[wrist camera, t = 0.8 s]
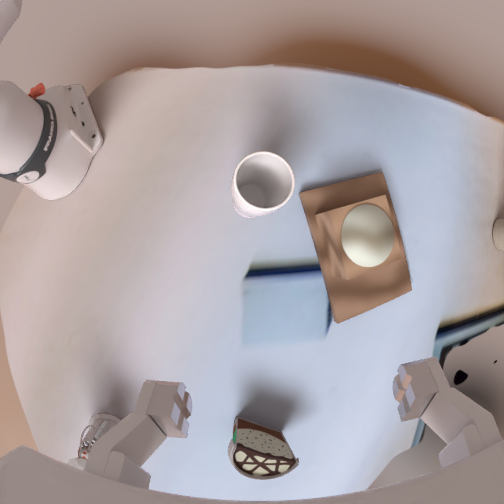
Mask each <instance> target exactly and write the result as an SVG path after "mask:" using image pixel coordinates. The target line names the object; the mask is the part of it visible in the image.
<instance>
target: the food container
mask: <svg viewBox="0 0 504 504" xmlns="http://www.w3.org/2000/svg"><path fill="white" fill-rule="evenodd" d="M228 456H229V459H230V461H231V463H232V465H233V466H234V468H235V469H236V470H237V471H238V472H239V473H241V474H242V475H244V476H246V477H249V478H252V479H259V480H267V479H274V478H278V477H281V476H283V475H285V474H287V473H289V472H291V471H292V470H293V469H295V468H296V467H297V466H298V465H299V464H298V463H299V459H298V458H297V459H296V458H295V456H294V454H293V452H292V450H291V449H290V447H289V445H288V443H287V441H286V439H285V437H284V435H283V433H282V431H279V430H276V429H272V428H269V427H266V426H263V425H260V424H257V423H254V422H251V421H249V420H246V419H243V418H240V417H238V416H237V417H236V419H235V421H234V427H233V439H232V440H231V441H230V443H229V446H228Z"/></svg>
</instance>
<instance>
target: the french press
mask: <svg viewBox="0 0 504 504" xmlns="http://www.w3.org/2000/svg"><path fill="white" fill-rule="evenodd" d="M120 421H121V419H119V418H118V417H116V416H113V415H110V414H107V413H98V414H96V415H94V416H92V417H91V419H90V421H89V425H88V426H87V427H86V428H85V429H84V431H83V433H82V435H81V441H80V447H79V451H78V457H79V458H74V459H70V460H69V462H68V463H67V464H68V465H70V466H73V467H76V468H78V469H81V470H84V468H85V465H86V462H87V459H88V456H89V453H90V450H91V447H92V446H91V443H92V444H94V442H93V441H92V440H94V441H95V442H96V441H97V440H98V439H100V438H101V437H102V436H103V435H104V434H106V433H107V432H108V431H109V430H110V429H112V428H113V427H114V426H115V425H116V424H118V423H119V422H120ZM88 427H89V429H90V430H89V432H88V433H87V435H86V436H85V438H84V439H83V441H82V437H83V434H84V432H85V430H86V429H87V428H88ZM87 441H89V443H88V442H87ZM82 442H83V443H82ZM84 442H85V444H86V445H88V446H85V445H84ZM81 444H82V445H83V447H81Z"/></svg>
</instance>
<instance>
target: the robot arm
mask: <svg viewBox="0 0 504 504" xmlns="http://www.w3.org/2000/svg"><path fill="white" fill-rule="evenodd" d="M21 6H22V0H0V43H1V41H2V40H3V38H4V37H5V35H6V34H7V32H8V31H9V29H10V28H11V27H12V25H13V24H14V22H15V21H16V20H17V18H18V17H19V15H20V11H21ZM69 90H70V91H69ZM94 135H95V137H94V138H93V136H94ZM102 144H103V138H102V135H101V133H100V130H99V128H98V125H97V122H96V120H95V117H94V114H93V112H92V109H91V106H90V103H89V100H88V98H87V95H86V92H85V89H84V87H83V86H82V85H77V84H75V85H69V86H65V87H64V86H54V87H51V88H48V89H46V90H45V87H44V85H43V84H42V83H40V84H38V85H37V86H36V87H34V88H32V89H31V91H30V93H29V94H28V95H27V94H26V93H25V92H24V91H23V90H21V89H20V88H19V87H18V86H17V85H16V84H14V83H13V82H10V81H5V80H1V81H0V177H2V178H5V179H8V180H11V181H14V182H18V183H21V184H23V185H25V186H27V187H29V188H30V189H32V190H33V191H34V192H35V193H36V194H37V195H39V196H40V197H42V198H44V199H48V200H55V199H59V198H62V197H64V196H66V195H68V194H69V193H70V192H72V191H73V190H74V189H75V188H76V187H77V186H78V185H79V183H80V182H81V181H82V179H83V178H84V176H85V174H86V172H87V170H88V168H89V165H90V162H91V160H92V158H93V156H94V155H95V154H96V152H97V151H98V150H99V149H100V147H101V146H102ZM397 371H398V375H397V376H396V377H395V378H394V381H393V394H394V397H395V399H396V400H397V401H398V402H400V404H399V406H398V411H399V414H400V418H401V421H407V420H411V419H415V418H419V417H421V419H422V420H423V421H424V422H425V423H426V424H427V425H428V426H429V427H430V428H431V429H432V430H433V431H434V432H435V433H437V434H438V436H440V437H441V438H442V439H443V440H444V441H445V442H446V443H447V444H448V445H447V446H446V447H445V448H444V449H443V450H442V451H441V452H440V454H439V455H438V456H439V460H440V463H441V469H438V470H435V471H433V472H430V473H427V474H424V475H421V476H418V477H415V478H412V479H408V480H405V481H401V482H398V483H394V484H391V485H387V486H383V487H378V488H374V489H369V490H365V491H360V492H354V493H349V494H343V495H336V496H329V497H321V498H312V499H301V500H285V501H235V500H219V499H207V498H198V497H190V496H183V495H177V494H171V493H165V492H160V491H155V490H150V489H148V488H149V483H150V478H151V476H150V474H149V473H148V472H146V471H145V470H144V469H142V468H141V466H142V465H143V464H144V463H145V461H146V460H147V459H148V458H149V457H150V456H151V455H152V454H153V453H154V451H155V450H156V449H157V448H158V447H159V446H160V445H161V444H162V442H163V441H164V440H165V439H166V438H167V437H166V436H168V437H179V438H187V433H188V428H189V423H188V421H187V420H186V419H187V418H188V417H189V416H190V415H191V412H192V399H191V396H190V394H189V393H188V392H186V391H185V389H186V387H185V385H184V383H183V382H167V381H155V380H146V381H145V382H144V383H143V386H142V389H141V392H140V395H139V398H138V401H137V404H136V407H135V410H134V413H129V414H128V415H127V416H126V417H125V418H124V419H122V420H121V421H120V422H119V423H118V424H116V425H115V426H114V427H113V428H112V429H110V430H109V431H108V432H107V433H106V434H104V435H103V436H102V437H101V438H100V439H98V440H97V441H96V442H95V443H94V444H93V445H92V447H91V450H90V453H89V456H88V459H87V462H86V465H85V468H84V470H81V469H78V468H76V467H73V466H70V465H68V464H66V463H63V462H61V461H58V460H56V459H54V458H51V457H49V456H47V455H45V454H43V453H41V452H39V451H36V450H34V449H32V448H30V447H28V446H25V445H22V446H19V447H17V448H15V449H13V450H12V451H10V452H9V453H7V454H6V455H4V456H3V457H1V458H0V504H504V439H503V440H502V438H501V436H500V433H499V430H498V428H497V425H496V423H495V420H494V418H493V415H492V414H491V413H489V412H488V411H487V410H485V409H484V408H482V407H481V406H479V405H478V404H477V403H475V402H474V401H472V400H471V399H469V398H468V397H466V396H465V395H464V394H462V393H461V392H459V391H458V390H456V389H455V388H450V386H449V384H448V381H447V379H446V377H445V375H444V373H443V370H442V368H441V366H440V364H439V362H438V360H437V358H436V357H431V358H427V359H422V360H418V361H414V362H409V363H405V364H401V365H400V366H399V367H398V370H397Z"/></svg>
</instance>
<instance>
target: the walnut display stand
mask: <svg viewBox="0 0 504 504" xmlns="http://www.w3.org/2000/svg"><path fill="white" fill-rule="evenodd" d="M299 196H300V199H301V202H302V206H303V209H304V212H305V215H306V219H307V222H308V225H309V228H310V232H311V235H312V239H313V242H314V246H315V249H316V253H317V256H318V260H319V263H320V267H321V271H322V274H323V278H324V282H325V285H326V289H327V293H328V297H329V301H330V305H331V309H332V313H333V317H334V321H335V322H336V323H340V322H343V321H345V320H348V319H350V318H352V317H355V316H357V315H359V314H362V313H364V312H366V311H369V310H371V309H373V308H375V307H377V306H380V305H382V304H384V303H386V302H388V301H391V300H393V299H395V298H397V297H399V296H401V295H403V294H405V293H407V292H409V291H411V290H412V287H411V281H410V276H409V271H408V266H407V261H406V256H405V252H404V247H403V243H402V239H401V235H400V231H399V227H398V223H397V219H396V215H395V212H394V208H393V205H392V201H391V198H390V194H389V191H388V188H387V185H386V181H385V178H384V175H383V172H381V173H376V174H372V175H368V176H364V177H360V178H355V179H351V180H347V181H343V182H339V183H335V184H332V185H328V186H324V187H320V188H316V189H312V190H309V191H305V192H301V193H300V194H299Z"/></svg>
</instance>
